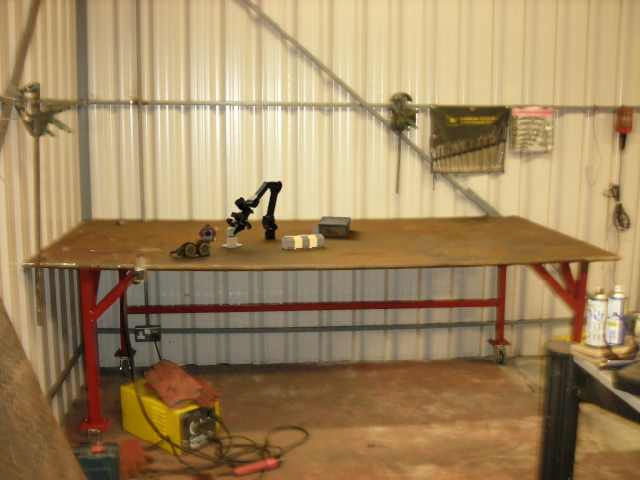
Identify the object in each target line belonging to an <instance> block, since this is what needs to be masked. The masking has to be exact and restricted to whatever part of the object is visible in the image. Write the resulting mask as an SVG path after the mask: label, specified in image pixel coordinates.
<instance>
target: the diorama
mask: <svg viewBox="0 0 640 480" xmlns="http://www.w3.org/2000/svg"><path fill="white" fill-rule="evenodd" d="M318 229H319V228H318V226H316V225H313V227H312V228H311V231H312V234H298V235H284V236H281V247H282V249H285V250H286V249H291V250H297V249H296V248H304V249H313V248H312V247H317V248H324V246H325V238H324V237H323V235H322V234H318V232H319V231H318Z"/></svg>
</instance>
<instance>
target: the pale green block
mask: <svg viewBox="0 0 640 480" xmlns="http://www.w3.org/2000/svg"><path fill="white" fill-rule="evenodd" d="M235 229H236V227H231V226H229V227H227V228H226V237H231V236H238V233H237V234H235V235H233V233H234V231H235Z"/></svg>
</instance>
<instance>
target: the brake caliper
mask: <svg viewBox="0 0 640 480" xmlns="http://www.w3.org/2000/svg"><path fill="white" fill-rule="evenodd" d="M198 234H199V237H200V239H201V241H207V242H212V241H216V240H217V239H216V237H217V230H216V229H215V228H214V227H212V226H211V225H210V224H209V223H206V224H205V225H202V227H201V229H200V230H199V232H198Z"/></svg>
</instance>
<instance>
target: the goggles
mask: <svg viewBox="0 0 640 480" xmlns="http://www.w3.org/2000/svg"><path fill="white" fill-rule="evenodd" d="M169 253H170V255H174V254H176V255H177V256H178V257H179V256H180V257H181V258H183V257H191V258H193V257H194V256H196V255H198V256H200V255H201V256H200V257H206V256H209V255H211V246H210V241H203V240H199V241H198V242H196V243H193V242H191V241H186V242H185V243H183V244H182V245H181V246H179V247H178V248H176V249H175V250H173V251H172V250H171V251H170V252H169ZM205 255H206V256H205Z"/></svg>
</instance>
